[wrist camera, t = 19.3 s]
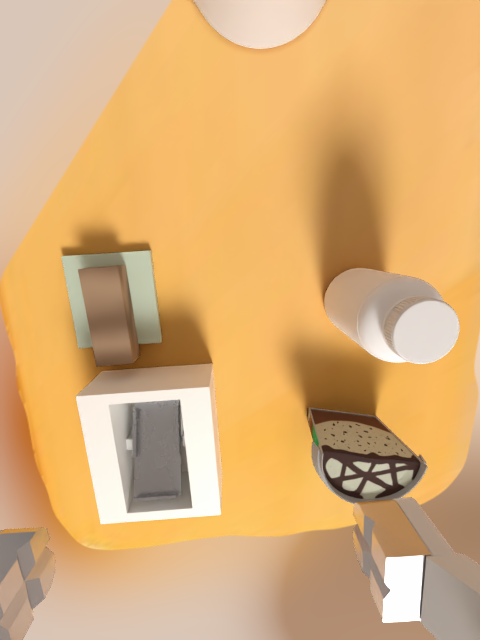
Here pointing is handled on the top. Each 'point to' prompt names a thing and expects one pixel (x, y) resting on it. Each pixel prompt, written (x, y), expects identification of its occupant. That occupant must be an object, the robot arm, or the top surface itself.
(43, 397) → the top surface
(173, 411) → the cradle
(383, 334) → the pill bottle
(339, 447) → the food container
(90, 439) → the pocket jig
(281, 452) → the top surface
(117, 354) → the walnut slab
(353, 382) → the top surface
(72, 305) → the sage pad
